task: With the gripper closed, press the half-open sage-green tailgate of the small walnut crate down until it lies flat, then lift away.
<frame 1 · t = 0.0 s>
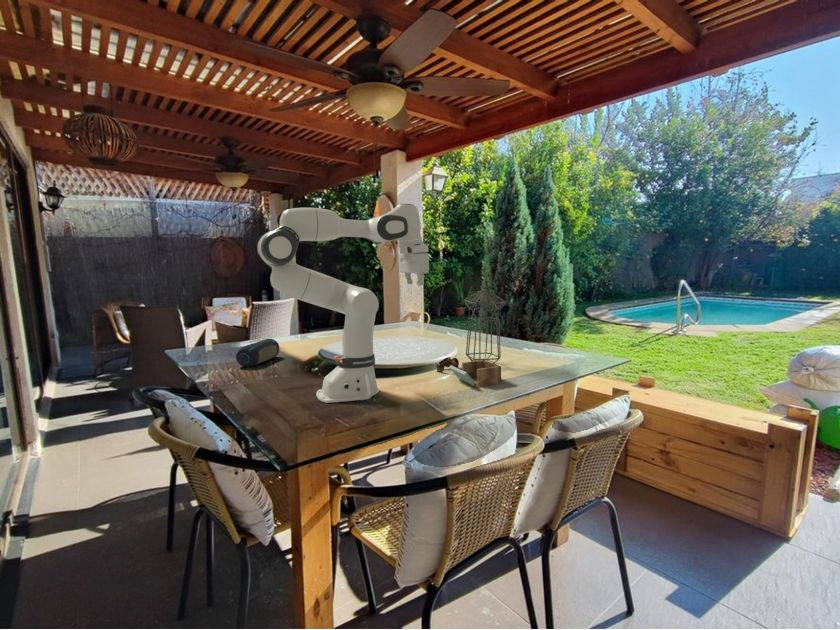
hand: (414, 284, 163), 39 cm above the table, tool pointing down, fingers open, 8 cm apart
dark brown arch: (449, 374, 182), on the table
portable speaker: (260, 362, 207), on the table
crate: (481, 384, 166), on the table
tailgate: (462, 375, 162), point 5 cm above the table, hinge at 40.0°
geometric lantern: (484, 366, 194), on the table
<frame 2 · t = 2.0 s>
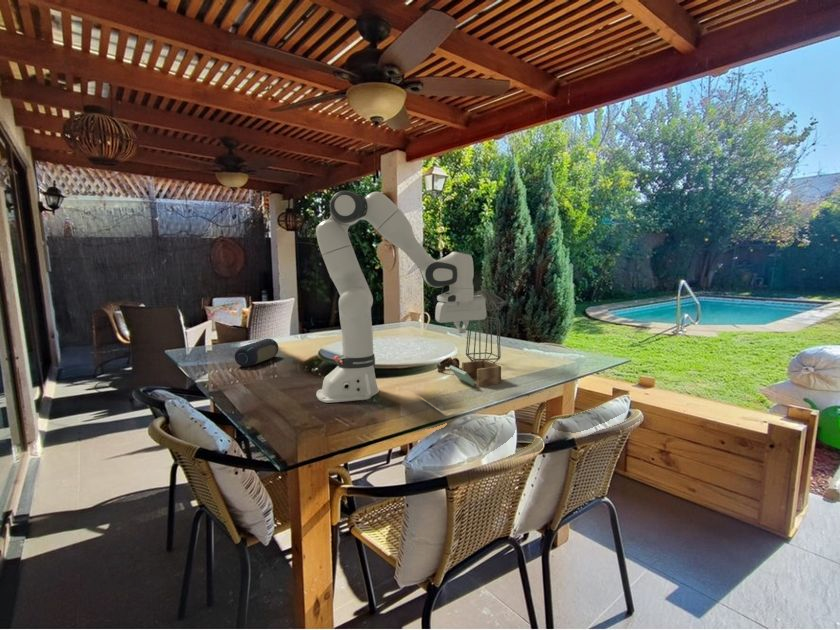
hand: (461, 332, 159), 21 cm above the table, tool pointing down, fingers closed
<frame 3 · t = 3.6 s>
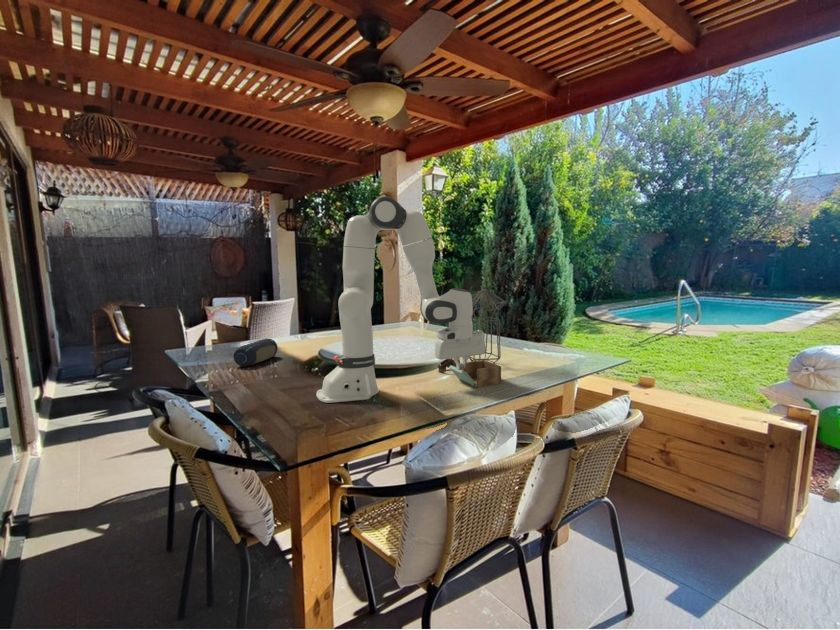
hand: (460, 368, 161), 8 cm above the table, tool pointing down, fingers closed
tailgate: (462, 375, 162), point 5 cm above the table, hinge at 40.0°, touching gripper
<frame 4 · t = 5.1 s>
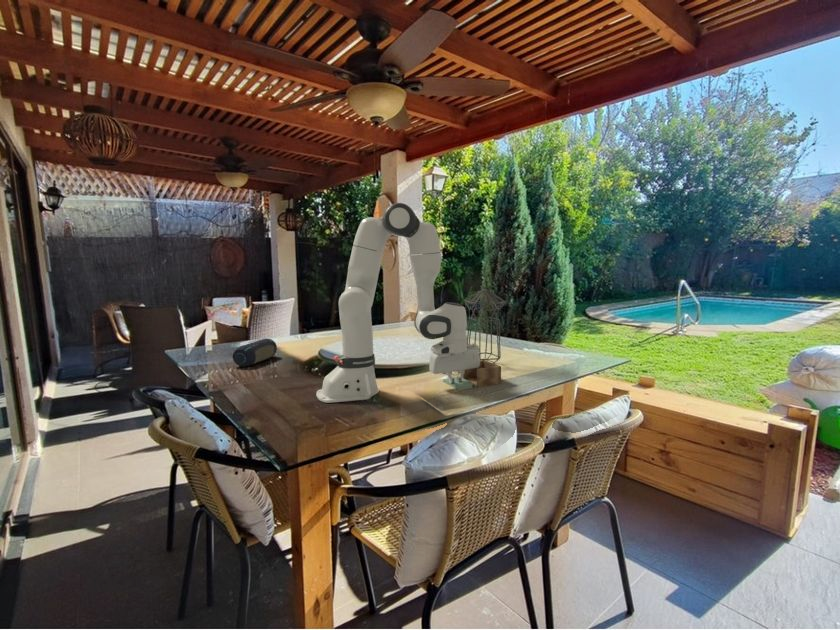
hand: (455, 382, 161), 3 cm above the table, tool pointing down, fingers closed
tailgate: (458, 383, 161), point 2 cm above the table, hinge at 92.4°, touching gripper
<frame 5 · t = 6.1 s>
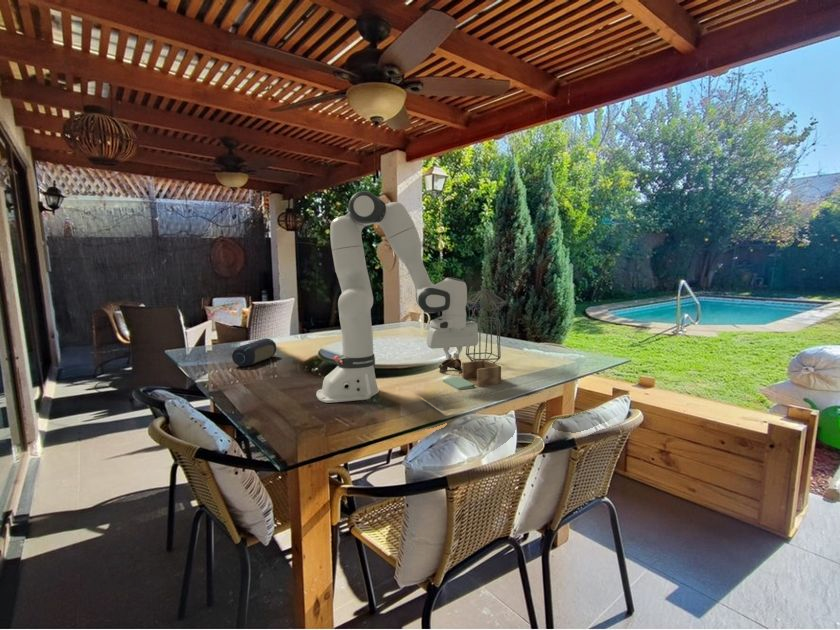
hand: (452, 358, 159), 12 cm above the table, tool pointing down, fingers closed
tailgate: (458, 383, 161), point 2 cm above the table, hinge at 93.4°
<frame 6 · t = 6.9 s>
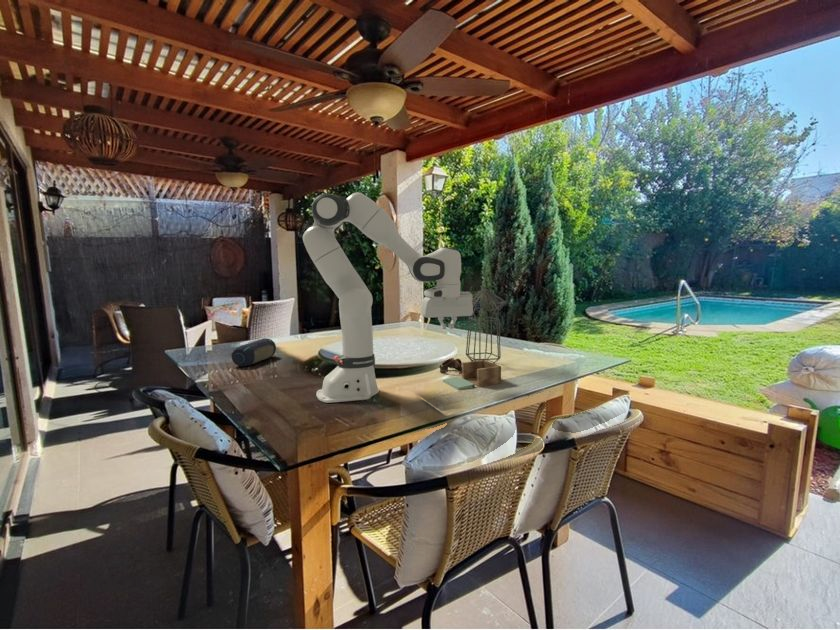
hand: (447, 328, 160), 23 cm above the table, tool pointing down, fingers closed
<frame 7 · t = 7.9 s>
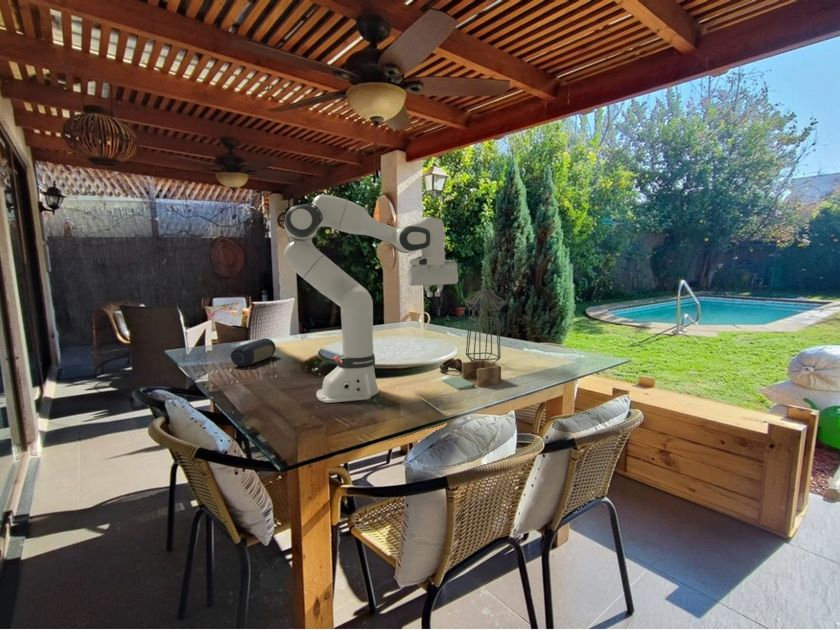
hand: (433, 296, 164), 34 cm above the table, tool pointing down, fingers closed
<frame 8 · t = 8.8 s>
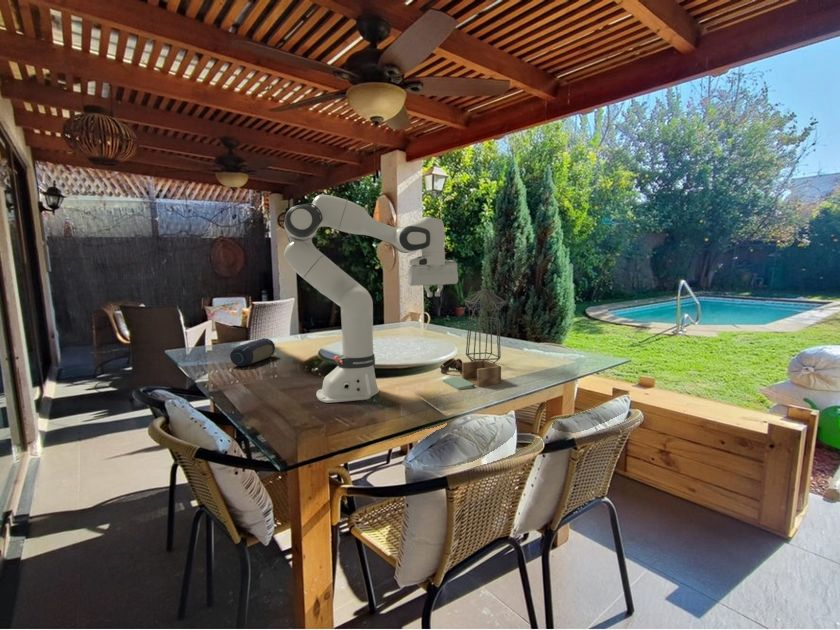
hand: (433, 296, 164), 34 cm above the table, tool pointing down, fingers closed
at the end: tailgate at +93° (first picture: +40°); dark brown arch moved 2.8 cm from its start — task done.
